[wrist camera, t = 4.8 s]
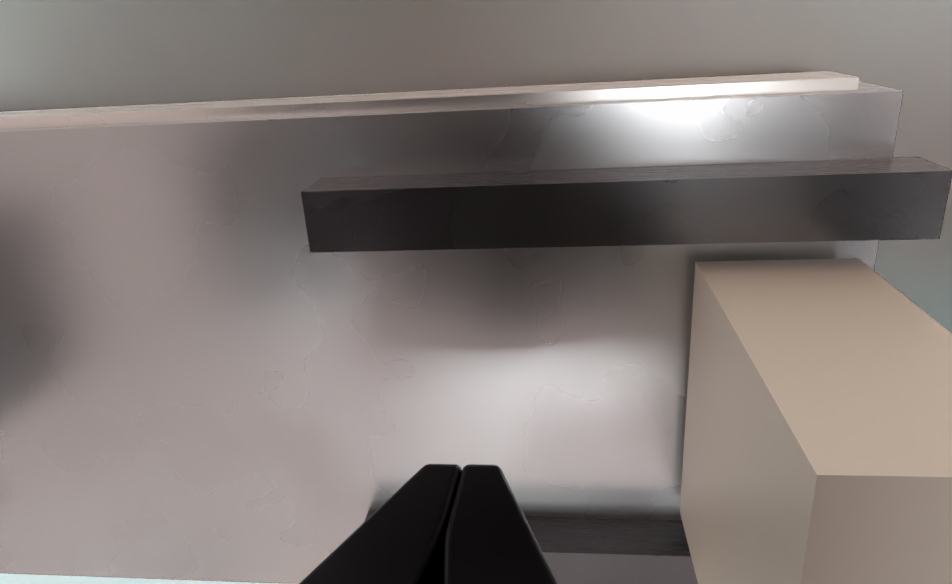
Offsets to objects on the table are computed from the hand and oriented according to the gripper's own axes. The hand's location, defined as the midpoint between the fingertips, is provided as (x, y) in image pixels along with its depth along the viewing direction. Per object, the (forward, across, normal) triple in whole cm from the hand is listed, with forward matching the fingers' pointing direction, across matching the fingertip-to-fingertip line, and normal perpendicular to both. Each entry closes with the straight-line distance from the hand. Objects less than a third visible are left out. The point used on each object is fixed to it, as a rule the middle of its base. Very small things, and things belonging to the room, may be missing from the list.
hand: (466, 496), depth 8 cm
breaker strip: (+5, +4, 0) cm, 6 cm away
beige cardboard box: (+3, -4, 0) cm, 5 cm away
